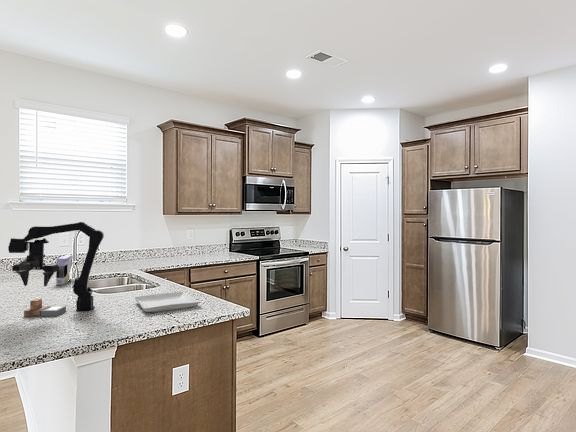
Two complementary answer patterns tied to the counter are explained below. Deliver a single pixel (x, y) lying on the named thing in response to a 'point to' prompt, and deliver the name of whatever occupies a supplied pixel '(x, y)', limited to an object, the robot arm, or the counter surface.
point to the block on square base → (35, 308)
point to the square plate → (166, 301)
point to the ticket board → (53, 311)
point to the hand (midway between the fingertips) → (35, 286)
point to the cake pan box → (63, 269)
